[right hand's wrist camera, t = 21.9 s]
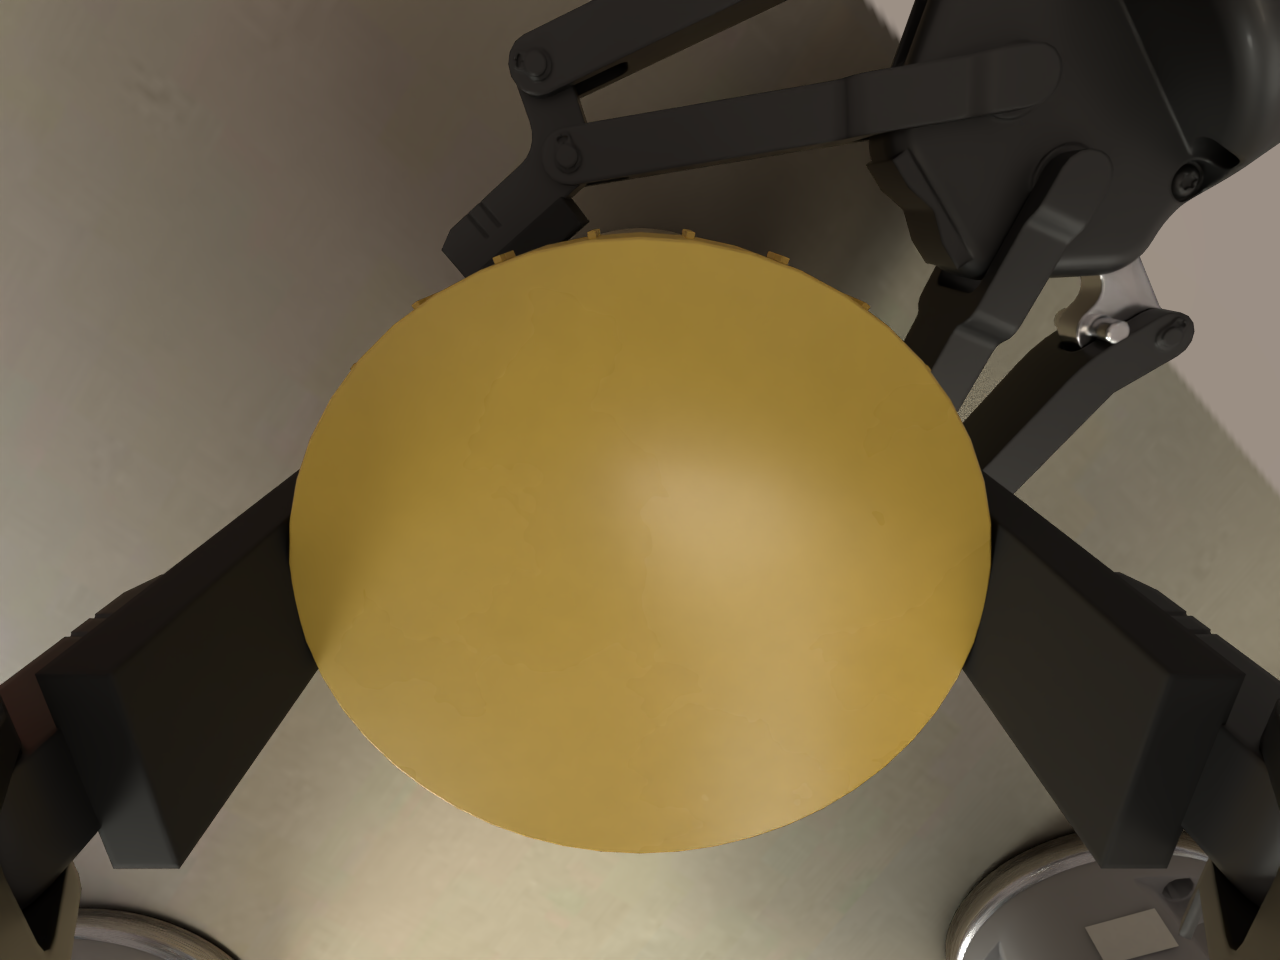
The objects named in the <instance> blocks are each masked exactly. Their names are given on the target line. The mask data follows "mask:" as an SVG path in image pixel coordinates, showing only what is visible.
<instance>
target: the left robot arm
mask: <svg viewBox="0 0 1280 960" xmlns="http://www.w3.org/2000/svg"><path fill="white" fill-rule="evenodd" d="M784 1H786V0H592V1H590V2H588V3H586V4H584V5H582V6H580V7H578V8H576V9H574V10H572V11H570V12H568V13H566V14H564V15H562V16H560V17H558V18H556V19H554V20H552V21H550V22H548V23H546V24H544V25H542V26H540V27H538V28H536V29H534V30H532V31H530V32H528V33H526V34H524V35H523V36H521V37H520V38H519V39H518V40H516V41H515V43H514V45H513V47H512V49H511V51H510V55H509V69H510V73H511V77H512V78H513V80H514V81H515V83H516V85H517V87H518V90H519V93H520V96H521V98H522V101H523V104H524V107H525V110H526V113H527V115H528V118H529V121H530V125H531V129H532V144H531V149H530V151H529V154H528V156H527V158H526V159H525V160H524V161H523V163H522V164H521V165H520V166H519V167H518V168H516V169H515V170H514V171H513V172H512V173H511V174H510V175H509V176H508V177H507V178H506V179H505V180H504V181H502V182H501V183H500V184H499V185H498V186H497V187H496V188H495V189H494V190H493V191H492V192H491V193H490V194H488V195H487V196H486V197H485V198H484V199H483V200H482V201H481V202H480V203H479V204H478V205H477V206H475V207H474V208H473V209H472V210H471V211H470V212H469V213H468V214H467V215H466V216H465V217H464V218H463V219H461V220H460V221H459V222H458V223H457V224H456V225H455V226H454V227H453V228H452V229H451V230H450V232H449V234H448V236H447V239H446V241H445V243H444V246H443V248H442V251H443V252H444V254H445V255H446V256H447V257H448V258H449V259H450V261H451V262H452V263H453V264H454V265H455V266H456V268H457V269H458V270H459V271H460V272H461V273H462V274H463V276H464V277H465V278H466V277H468V276H470V275H472V274H474V273H476V272H478V271H480V270H482V269H484V268H487V267H489V266H492V265H494V264H495V263H494V261H493V257H496V256H498V255H501V254H504V253H507V252H510V251H514V253H515V255H516V256H518V255H521V254H524V253H526V252H529V251H532V250H535V249H537V248H540V247H543V246H546V245H550V244H555V243H559V242H564V241H568V240H569V239H570V238H571V237H572V236H574V235H575V234H576V233H577V232H578V231H579V230H580V229H582V228H583V227H584V226H585V225H586V224H587V223H588V222H589V220H588V219H587V218H586V216H585V215H584V214H583V213H582V211H581V210H580V209H579V207H578V206H577V205H576V203H575V202H574V201H573V200H572V197H573V196H574V195H575V194H576V193H578V192H579V191H580V190H581V189H582V188H583V187H587V186H593V185H599V184H605V183H611V182H617V181H623V180H629V179H635V178H641V177H647V176H653V175H659V174H665V173H671V172H677V171H683V170H689V169H695V168H701V167H707V166H713V165H719V164H725V163H731V162H737V161H743V160H749V159H755V158H761V157H767V156H773V155H779V154H785V153H791V152H797V151H803V150H809V149H816V148H825V147H832V146H838V145H844V144H850V143H856V142H862V141H868V140H869V150H870V156H871V160H872V161H870V162H869V163H868V164H867V165H866V166H867V168H868V169H869V171H870V173H871V174H872V176H873V178H874V179H875V181H876V183H877V184H878V186H879V187H880V189H881V190H882V191H883V192H884V193H885V194H886V195H887V196H888V197H890V198H891V199H892V200H893V201H894V202H895V203H896V204H897V205H899V206H900V207H901V208H902V209H903V211H904V214H905V217H906V221H907V225H908V228H909V232H910V236H911V239H912V241H913V243H914V245H915V246H916V248H917V249H918V251H919V253H920V254H921V256H922V258H923V259H924V261H925V262H926V263H928V264H933V265H936V267H935V269H934V271H933V272H932V274H931V276H930V278H929V280H928V282H927V284H926V286H925V288H924V289H923V291H922V294H921V296H920V298H919V303H918V310H919V311H918V315H917V317H916V319H915V321H914V323H913V325H912V327H911V329H910V331H909V332H908V334H907V336H906V338H905V340H904V342H905V343H906V345H907V346H908V347H909V348H910V349H911V350H912V351H913V352H914V353H915V354H916V355H917V356H918V357H919V358H920V359H921V360H922V361H923V362H924V363H925V364H926V365H928V366H929V368H930V369H931V371H930V372H931V373H932V374H933V376H934V377H935V379H936V380H937V381H938V383H939V384H940V386H941V387H942V388H943V390H944V391H945V392H946V394H947V395H948V397H949V398H950V399H951V401H952V403H953V405H954V407H955V409H956V411H957V412H958V410H959V409H960V407H961V405H962V403H963V402H964V400H965V398H966V397H967V395H968V393H969V392H970V390H971V388H972V386H973V385H974V383H975V381H976V380H977V378H978V376H979V375H980V373H981V371H982V369H983V368H984V366H985V364H986V363H987V361H988V359H989V358H990V356H991V354H992V352H993V351H994V349H995V348H996V347H997V346H998V345H999V344H1000V343H1002V342H1004V341H1006V340H1008V339H1009V338H1011V337H1012V336H1013V335H1014V334H1015V333H1016V331H1017V330H1018V329H1019V327H1020V326H1021V324H1022V322H1023V321H1024V319H1025V317H1026V316H1027V314H1028V312H1029V311H1030V309H1031V307H1032V306H1033V304H1034V302H1035V301H1036V299H1037V297H1038V296H1039V294H1040V292H1041V290H1042V289H1043V287H1044V285H1045V284H1046V282H1047V280H1048V279H1049V278H1056V277H1077V276H1080V277H1081V288H1080V291H1079V294H1078V296H1077V297H1076V299H1075V300H1074V301H1073V302H1072V303H1071V304H1070V305H1069V306H1068V307H1067V308H1064V309H1062V310H1060V311H1059V312H1058V313H1057V314H1056V315H1055V318H1054V324H1055V326H1056V327H1057V331H1055V332H1054V333H1052V334H1051V335H1049V336H1048V337H1046V338H1045V339H1044V340H1042V341H1041V342H1040V343H1039V344H1038V345H1036V346H1035V347H1034V348H1033V349H1031V350H1030V351H1029V352H1028V353H1027V354H1026V355H1025V356H1024V357H1023V358H1022V359H1021V360H1020V361H1019V362H1018V363H1017V365H1016V366H1015V367H1014V368H1013V369H1012V370H1011V371H1010V372H1009V373H1008V374H1007V375H1006V376H1005V378H1004V379H1003V380H1002V381H1001V382H1000V383H999V384H998V385H997V386H996V387H995V388H994V390H993V391H992V392H991V393H990V394H989V395H988V396H987V397H986V398H985V399H984V400H983V402H982V403H981V404H980V405H979V406H978V407H977V408H976V409H975V410H974V411H973V412H972V413H971V415H970V416H969V417H968V418H967V419H966V420H965V421H964V422H963V425H964V427H965V429H966V431H967V433H968V435H969V437H970V439H971V442H972V445H973V448H974V451H975V454H976V457H977V460H978V463H979V466H980V469H981V470H983V471H984V472H985V473H986V474H988V475H989V476H990V477H992V478H993V479H994V480H996V481H997V482H998V483H999V484H1001V485H1002V486H1003V487H1005V488H1006V489H1007V490H1008V491H1010V492H1011V493H1012V494H1014V493H1015V492H1016V491H1017V490H1018V489H1019V488H1020V487H1021V486H1022V485H1023V484H1024V483H1025V482H1026V481H1027V480H1028V479H1029V478H1030V477H1031V476H1032V475H1033V474H1034V473H1035V472H1036V471H1037V470H1038V469H1039V468H1040V467H1041V466H1042V465H1043V464H1044V463H1045V462H1046V461H1047V460H1048V459H1049V457H1050V456H1051V455H1052V454H1053V453H1054V452H1055V451H1056V450H1057V449H1058V448H1059V447H1060V446H1061V445H1062V444H1063V443H1064V442H1065V441H1066V440H1067V439H1068V438H1069V437H1070V436H1071V435H1072V434H1073V433H1074V432H1075V431H1076V430H1077V429H1078V428H1079V427H1080V426H1081V425H1082V424H1083V423H1084V422H1085V421H1086V420H1087V419H1088V418H1089V417H1090V416H1091V415H1092V414H1093V413H1094V412H1095V411H1096V410H1097V409H1098V408H1099V407H1100V406H1101V405H1102V404H1103V403H1104V402H1105V401H1106V400H1107V399H1108V398H1109V397H1110V396H1111V395H1112V394H1113V393H1114V392H1116V391H1118V390H1119V389H1121V388H1123V387H1125V386H1126V385H1128V384H1130V383H1131V382H1133V381H1135V380H1137V379H1138V378H1140V377H1142V376H1144V375H1145V374H1147V373H1149V372H1151V371H1152V370H1154V369H1156V368H1158V367H1159V366H1161V365H1163V364H1165V363H1166V362H1168V361H1170V360H1172V359H1173V358H1175V357H1177V356H1178V355H1179V354H1181V353H1182V352H1183V351H1184V350H1186V348H1187V347H1188V346H1189V344H1190V343H1191V341H1192V338H1193V335H1194V325H1193V322H1192V320H1191V319H1190V318H1189V316H1187V315H1185V314H1183V313H1180V312H1175V311H1170V310H1165V309H1162V308H1161V307H1160V306H1159V304H1158V301H1157V299H1156V296H1155V294H1154V291H1153V289H1152V286H1151V284H1150V281H1149V279H1148V276H1147V274H1146V271H1145V269H1144V266H1143V264H1142V261H1141V259H1140V255H1142V254H1143V253H1144V251H1145V250H1146V249H1147V248H1148V246H1149V245H1150V243H1151V242H1152V240H1153V239H1154V237H1155V236H1156V234H1157V232H1158V231H1159V230H1160V228H1161V227H1162V225H1163V224H1164V223H1165V222H1166V220H1167V219H1168V218H1169V217H1170V216H1171V215H1172V214H1173V213H1174V212H1175V211H1176V210H1177V209H1178V208H1179V207H1180V206H1181V205H1183V204H1184V203H1186V202H1187V201H1189V200H1190V199H1192V198H1193V197H1195V196H1197V195H1199V194H1201V193H1202V192H1204V191H1206V190H1208V189H1209V188H1211V187H1213V186H1214V185H1216V184H1218V183H1220V182H1222V181H1223V180H1225V179H1227V178H1228V177H1230V176H1231V175H1233V174H1235V173H1236V172H1238V171H1239V170H1241V169H1243V168H1244V167H1246V166H1247V165H1248V164H1250V163H1251V162H1253V161H1254V160H1255V159H1257V158H1258V157H1260V156H1261V155H1263V154H1264V153H1266V152H1267V151H1268V150H1270V149H1271V148H1273V147H1274V146H1276V145H1277V144H1279V143H1280V0H915V2H914V5H913V7H912V10H911V13H910V16H909V19H908V21H907V24H906V27H905V30H904V32H903V35H902V38H901V41H900V44H899V46H898V49H897V52H896V55H895V57H894V60H893V63H892V66H891V68H887V69H881V70H875V71H870V72H865V73H860V74H856V75H852V76H849V77H846V78H842V79H838V80H834V81H829V82H823V83H817V84H811V85H805V86H799V87H794V88H788V89H782V90H776V91H770V92H765V93H759V94H753V95H747V96H741V97H735V98H730V99H724V100H718V101H712V102H706V103H700V104H695V105H689V106H683V107H677V108H671V109H665V110H660V111H654V112H648V113H642V114H636V115H630V116H625V117H619V118H613V119H607V120H601V121H595V122H590V123H587V121H586V118H585V115H584V111H583V108H582V105H581V102H580V98H582V97H584V96H586V95H588V94H590V93H592V92H595V91H597V90H599V89H601V88H603V87H605V86H607V85H609V84H611V83H614V82H616V81H618V80H620V79H622V78H624V77H626V76H628V75H630V74H633V73H635V72H637V71H639V70H641V69H643V68H645V67H647V66H649V65H652V64H654V63H656V62H658V61H660V60H662V59H664V58H666V57H668V56H671V55H673V54H675V53H677V52H679V51H681V50H683V49H685V48H687V47H689V46H692V45H694V44H696V43H698V42H700V41H702V40H704V39H706V38H708V37H711V36H713V35H715V34H717V33H719V32H721V31H723V30H725V29H727V28H730V27H732V26H734V25H736V24H738V23H740V22H742V21H744V20H746V19H749V18H751V17H753V16H755V15H757V14H759V13H761V12H763V11H765V10H768V9H770V8H772V7H774V6H776V5H778V4H780V3H782V2H784ZM1208 858H1209V857H1208V856H1207V855H1206V854H1205V852H1204V851H1203V850H1202V849H1201V848H1200V847H1199V846H1198V844H1197V843H1196V842H1195V841H1194V840H1193V839H1192V838H1191V836H1190V835H1188V834H1185V833H1181V836H1180V838H1179V841H1178V843H1177V845H1176V848H1175V850H1174V853H1173V855H1172V858H1171V860H1170V863H1169V865H1168V868H1167V869H1101V868H1100V866H1099V865H1098V863H1097V862H1096V860H1095V859H1094V858H1093V856H1092V855H1091V853H1090V852H1089V850H1088V849H1087V847H1086V846H1085V845H1084V843H1083V842H1082V840H1081V839H1080V837H1079V836H1078V835H1077V833H1073V834H1070V835H1066V836H1063V837H1059V838H1056V839H1053V840H1051V841H1048V842H1045V843H1043V844H1040V845H1038V846H1036V847H1033V848H1031V849H1029V850H1027V851H1025V852H1023V853H1021V854H1019V855H1017V856H1015V857H1014V858H1012V859H1010V860H1009V861H1007V862H1006V863H1004V864H1003V865H1001V866H1000V867H998V868H997V869H995V870H994V871H993V872H991V873H990V874H989V875H988V876H987V877H985V878H984V879H983V880H982V881H981V882H980V883H979V884H978V885H977V886H976V887H975V888H974V889H973V890H972V891H971V892H970V893H969V894H968V895H967V897H966V898H965V899H964V901H963V902H962V903H961V905H960V906H959V908H958V910H957V911H956V913H955V915H954V917H953V919H952V921H951V924H950V927H949V930H948V933H947V938H946V949H945V952H946V960H1210V959H1209V953H1208V946H1207V939H1206V933H1205V926H1204V922H1203V923H1201V924H1198V925H1197V927H1196V929H1195V931H1194V934H1193V936H1192V938H1191V940H1189V939H1186V938H1184V937H1181V936H1179V935H1178V934H1179V929H1180V924H1181V920H1182V918H1183V915H1184V913H1185V911H1186V908H1187V906H1188V904H1189V901H1190V899H1191V897H1192V895H1193V892H1194V890H1195V888H1196V885H1197V883H1198V881H1199V878H1200V876H1201V874H1202V871H1203V869H1204V867H1205V865H1206V862H1207V860H1208Z"/></svg>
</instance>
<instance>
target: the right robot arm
mask: <svg viewBox="0 0 1280 960" xmlns="http://www.w3.org/2000/svg"><path fill="white" fill-rule="evenodd" d="M299 471H300V469H299V470H298V471H297V472H295V473H294V474H293V475H291V476H290V477H289V478H288V479H286V480H285V481H284V482H282V483H281V484H280V485H279V486H277V487H276V488H275V489H273V490H272V491H271V492H269V493H268V494H267V495H266V496H264V497H263V498H262V499H260V500H259V501H258V502H257V503H255V504H254V505H253V506H251V507H250V508H249V509H247V510H246V511H245V512H244V513H242V514H241V515H240V516H238V517H237V518H236V519H235V520H233V521H232V522H231V523H229V524H228V525H227V526H225V527H224V528H223V529H222V530H220V531H219V532H218V533H216V534H215V535H214V536H213V537H211V538H210V539H209V540H207V541H206V542H205V543H203V544H202V545H201V546H200V547H198V548H197V549H196V550H194V551H193V552H192V553H191V554H189V555H188V556H187V557H185V558H184V559H183V560H181V561H180V562H179V563H178V564H176V565H175V566H174V567H172V568H171V569H170V570H169V571H167V572H166V573H165V574H163V575H160V576H158V577H156V578H154V579H151V580H149V581H147V582H145V583H143V584H141V585H139V586H137V587H135V588H133V589H131V590H128V591H126V592H124V593H123V594H121V595H120V596H119V597H117V598H116V599H115V600H113V601H112V602H111V603H109V604H108V605H107V606H105V607H104V608H103V609H101V610H100V611H99V612H97V613H96V614H95V618H89V619H88V620H87V621H85V622H84V623H83V624H81V625H80V626H79V627H77V628H76V629H75V630H73V631H72V632H71V636H70V637H64V638H63V639H61V640H60V641H59V642H57V643H56V644H55V645H53V646H52V647H51V648H49V649H48V650H47V651H45V652H44V653H43V654H41V655H40V656H39V657H37V658H36V659H35V660H33V661H32V662H31V663H29V664H28V665H27V666H25V667H24V668H23V669H21V670H20V671H19V672H17V673H16V674H15V675H13V676H12V677H11V678H9V679H8V680H7V681H5V682H4V683H3V684H1V685H0V960H233V959H232V958H231V957H230V956H228V955H227V954H226V953H225V952H223V951H222V950H220V949H219V948H218V947H216V946H215V945H213V944H211V943H210V942H208V941H207V940H205V939H203V938H201V937H199V936H197V935H195V934H193V933H191V932H189V931H187V930H185V929H183V928H180V927H178V926H175V925H173V924H170V923H167V922H164V921H161V920H158V919H155V918H151V917H148V916H144V915H139V914H135V913H130V912H124V911H117V910H109V909H91V908H83V909H79V902H80V895H81V884H80V878H79V874H78V871H77V869H76V867H75V865H74V862H73V859H74V858H75V857H76V856H77V855H78V854H79V852H80V851H81V850H82V849H83V848H84V847H85V846H86V844H87V843H88V842H89V841H90V840H91V839H92V837H93V836H94V835H95V834H96V833H97V832H99V834H100V837H101V839H102V842H103V844H104V846H105V849H106V851H107V854H108V856H109V859H110V861H111V864H112V866H113V869H179V868H180V867H181V865H182V864H183V863H184V861H185V860H186V858H187V857H188V855H189V854H190V852H191V851H192V850H193V848H194V847H195V845H196V844H197V842H198V841H199V839H200V838H201V837H202V835H203V834H204V832H205V831H206V829H207V828H208V827H209V825H210V824H211V822H212V821H213V819H214V818H215V816H216V815H217V814H218V812H219V811H220V809H221V808H222V806H223V805H224V804H225V802H226V801H227V799H228V798H229V796H230V795H231V793H232V792H233V791H234V789H235V788H236V786H237V785H238V783H239V782H240V781H241V779H242V778H243V776H244V775H245V773H246V772H247V770H248V769H249V768H250V766H251V765H252V763H253V762H254V760H255V759H256V758H257V756H258V755H259V753H260V752H261V750H262V749H263V747H264V746H265V745H266V743H267V742H268V740H269V739H270V737H271V736H272V735H273V733H274V732H275V730H276V729H277V727H278V726H279V724H280V723H281V722H282V720H283V719H284V717H285V716H286V714H287V713H288V711H289V710H290V709H291V707H292V706H293V704H294V703H295V701H296V700H297V699H298V697H299V696H300V694H301V693H302V691H303V690H304V688H305V687H306V686H307V684H308V683H309V681H310V680H311V678H312V677H313V676H314V674H315V673H316V671H317V670H318V666H317V664H316V662H315V660H314V658H313V655H312V653H311V651H310V649H309V647H308V644H307V642H306V639H305V636H304V633H303V629H302V626H301V622H300V618H299V614H298V609H297V605H296V601H295V596H294V591H293V586H292V580H291V573H290V566H289V529H290V516H291V510H292V504H293V498H294V492H295V486H296V480H297V477H298V474H299ZM981 472H982V475H983V478H984V482H985V488H986V495H987V501H988V507H989V513H990V520H991V570H990V577H989V584H988V589H987V594H986V599H985V603H984V608H983V612H982V616H981V620H980V624H979V628H978V631H977V634H976V638H975V641H974V644H973V646H972V648H971V650H970V652H969V655H968V657H967V659H966V661H965V663H964V665H963V668H962V669H963V671H964V672H965V673H966V675H967V676H968V678H969V679H970V681H971V682H972V684H973V685H974V686H975V688H976V689H977V691H978V692H979V694H980V695H981V696H982V698H983V699H984V701H985V702H986V704H987V705H988V707H989V708H990V709H991V711H992V712H993V714H994V715H995V717H996V718H997V719H998V721H999V722H1000V724H1001V725H1002V727H1003V728H1004V730H1005V731H1006V732H1007V734H1008V735H1009V737H1010V738H1011V740H1012V741H1013V743H1014V744H1015V745H1016V747H1017V748H1018V750H1019V751H1020V753H1021V754H1022V755H1023V757H1024V758H1025V760H1026V761H1027V763H1028V764H1029V766H1030V767H1031V768H1032V770H1033V771H1034V773H1035V774H1036V776H1037V777H1038V778H1039V780H1040V781H1041V783H1042V784H1043V786H1044V787H1045V789H1046V790H1047V791H1048V793H1049V794H1050V796H1051V797H1052V799H1053V800H1054V801H1055V803H1056V804H1057V806H1058V807H1059V809H1060V810H1061V812H1062V813H1063V814H1064V816H1065V817H1066V819H1067V820H1068V822H1069V823H1070V824H1071V826H1072V827H1073V829H1074V830H1075V832H1076V833H1077V835H1078V836H1079V837H1080V839H1081V840H1082V842H1083V843H1084V845H1085V846H1086V847H1087V849H1088V850H1089V852H1090V853H1091V855H1092V856H1093V858H1094V859H1095V860H1096V862H1097V863H1098V865H1099V866H1100V868H1101V869H1167V868H1168V865H1169V863H1170V860H1171V858H1172V855H1173V853H1174V850H1175V848H1176V845H1177V843H1178V841H1179V838H1180V836H1181V833H1182V831H1183V828H1184V830H1185V831H1186V832H1187V833H1188V834H1189V835H1190V836H1191V838H1192V839H1193V840H1194V841H1195V842H1196V843H1197V844H1198V846H1199V847H1200V848H1201V849H1202V850H1203V851H1204V852H1205V854H1206V855H1207V856H1208V857H1209V858H1208V860H1207V862H1206V865H1205V867H1204V869H1203V871H1202V874H1201V876H1200V878H1199V881H1198V883H1197V885H1196V888H1195V890H1194V892H1193V895H1192V897H1191V899H1190V901H1189V904H1188V906H1187V908H1186V911H1185V913H1184V915H1183V918H1182V920H1181V924H1180V929H1179V934H1178V935H1179V936H1181V937H1184V938H1186V939H1189V940H1191V938H1192V936H1193V934H1194V931H1195V929H1196V927H1197V925H1198V924H1201V923H1203V922H1204V926H1205V933H1206V939H1207V946H1208V953H1209V959H1210V960H1280V681H1279V680H1278V679H1276V678H1275V677H1274V676H1272V675H1271V674H1270V673H1268V672H1267V671H1266V670H1264V669H1263V668H1262V667H1260V666H1259V665H1258V664H1256V663H1255V662H1254V661H1252V660H1251V659H1249V658H1248V657H1247V656H1245V655H1244V654H1243V653H1241V652H1240V651H1239V650H1237V649H1236V648H1235V647H1233V646H1232V645H1231V644H1229V643H1228V642H1227V641H1225V640H1224V639H1223V638H1221V637H1220V636H1219V635H1217V634H1211V632H1210V629H1209V628H1208V627H1206V626H1205V625H1204V624H1202V623H1201V622H1200V621H1198V620H1197V619H1196V618H1194V617H1193V616H1187V615H1186V611H1185V610H1183V609H1182V608H1181V607H1179V606H1178V605H1177V604H1175V603H1174V602H1173V601H1171V600H1170V599H1169V598H1167V597H1166V596H1165V595H1163V594H1162V593H1161V592H1159V591H1158V590H1156V589H1154V588H1152V587H1150V586H1148V585H1145V584H1143V583H1141V582H1139V581H1137V580H1135V579H1133V578H1131V577H1129V576H1126V575H1124V574H1122V573H1120V572H1113V571H1112V570H1111V569H1109V568H1108V567H1107V566H1105V565H1104V564H1103V563H1102V562H1100V561H1099V560H1098V559H1096V558H1095V557H1094V556H1093V555H1091V554H1090V553H1089V552H1087V551H1086V550H1085V549H1083V548H1082V547H1081V546H1080V545H1078V544H1077V543H1076V542H1074V541H1073V540H1072V539H1071V538H1069V537H1068V536H1067V535H1065V534H1064V533H1063V532H1061V531H1060V530H1059V529H1058V528H1056V527H1055V526H1054V525H1052V524H1051V523H1050V522H1049V521H1047V520H1046V519H1045V518H1043V517H1042V516H1041V515H1039V514H1038V513H1037V512H1036V511H1034V510H1033V509H1032V508H1030V507H1029V506H1028V505H1027V504H1025V503H1024V502H1023V501H1021V500H1020V499H1019V498H1017V497H1016V496H1015V495H1014V494H1012V493H1011V492H1010V491H1008V490H1007V489H1006V488H1005V487H1003V486H1002V485H1001V484H999V483H998V482H997V481H996V480H994V479H993V478H992V477H990V476H989V475H988V474H986V473H985V472H984V471H983V470H981Z"/></svg>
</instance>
